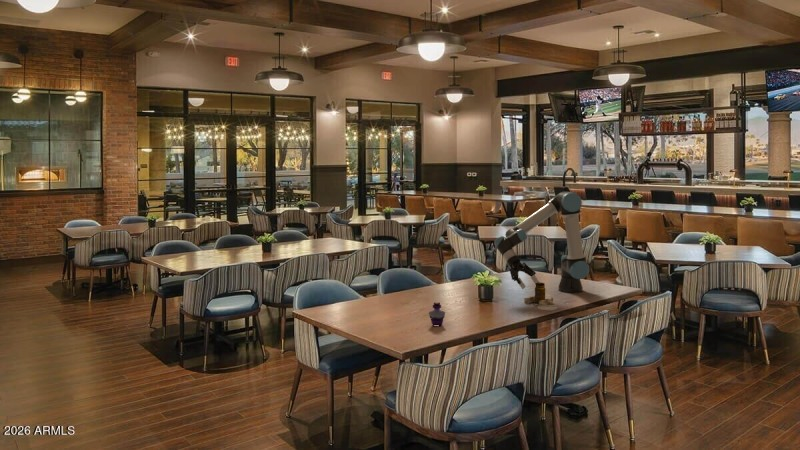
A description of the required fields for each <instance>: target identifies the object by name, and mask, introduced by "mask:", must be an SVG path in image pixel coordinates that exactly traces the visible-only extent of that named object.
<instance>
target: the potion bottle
mask: <svg viewBox="0 0 800 450" xmlns="http://www.w3.org/2000/svg"><path fill="white" fill-rule="evenodd" d="M441 308H442V305H441V302H438V301H436V302H435V301H434V302H433V304H432V309H433V310H430V311H428V315H429V318H430V322H431V325H432V324H433V325H442V326H443V322H444V318H445V316H446V315H445V314H446V311H444V310H441Z"/></svg>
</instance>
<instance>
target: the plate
mask: <svg viewBox="0 0 800 450" xmlns="http://www.w3.org/2000/svg"><path fill="white" fill-rule="evenodd" d="M537 310H540V311H556V310H558V306H556V305H553V304H548V305H537Z"/></svg>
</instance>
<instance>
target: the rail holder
mask: <svg viewBox="0 0 800 450" xmlns="http://www.w3.org/2000/svg"><path fill="white" fill-rule="evenodd" d="M523 299H524V304H529V303H530V302H535V295H532V296H528V297H524V298H523ZM530 304H531V303H530ZM552 304H554V298H553V297H549V298H545V300H541V301H539V305H552ZM539 305H538V306H539Z"/></svg>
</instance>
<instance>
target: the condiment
mask: <svg viewBox="0 0 800 450" xmlns="http://www.w3.org/2000/svg"><path fill="white" fill-rule="evenodd" d="M534 296H535V301H534V302H530V304H532V305H537V306H539V301H541V300H545V299H546V285H545V282H540V283H536V284H535V286H534Z"/></svg>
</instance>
